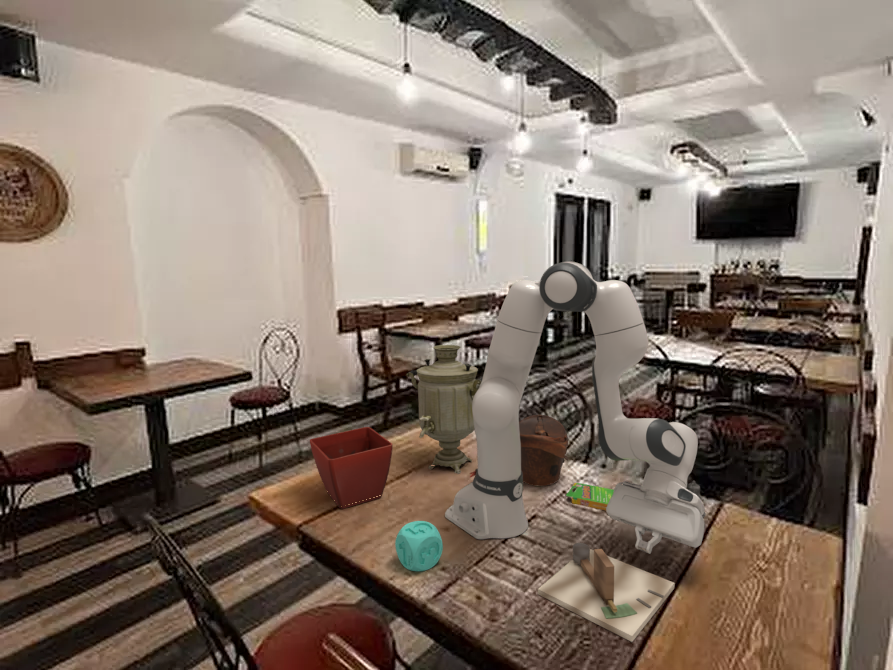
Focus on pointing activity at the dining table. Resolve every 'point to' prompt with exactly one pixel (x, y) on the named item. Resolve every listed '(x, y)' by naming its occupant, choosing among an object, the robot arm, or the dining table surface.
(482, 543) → the dining table surface
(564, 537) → the dining table surface
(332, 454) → the plant pot
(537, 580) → the dining table surface
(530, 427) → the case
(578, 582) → the dial board
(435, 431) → the samovar
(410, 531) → the decorative dice
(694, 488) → the chess piece
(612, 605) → the tuning lever
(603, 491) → the game box
